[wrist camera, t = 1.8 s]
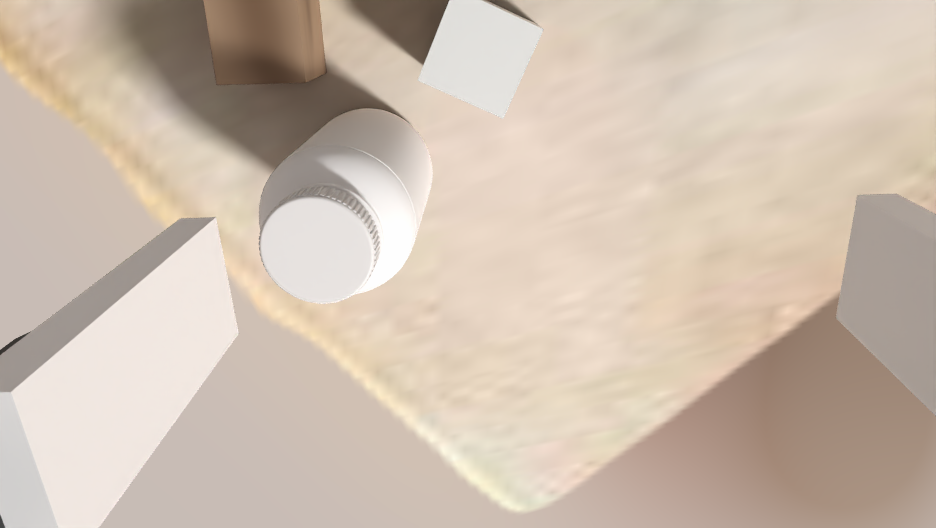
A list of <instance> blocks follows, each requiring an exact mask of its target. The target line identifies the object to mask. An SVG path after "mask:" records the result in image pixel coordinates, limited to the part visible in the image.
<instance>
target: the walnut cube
mask: <svg viewBox="0 0 936 528" xmlns="http://www.w3.org/2000/svg"><path fill="white" fill-rule="evenodd" d="M203 1H204V8H205V14H206V20H207V27H208V33H209V39H210V46H211V52H212V59H213V65H214V71H215V78H216V84H217V85H230V84H275V83H307V82H309V81H311V80H313V79H315V78H317V77H319V76H321V75H323V74H325V73H326V65H325V55H324V45H323V35H322V24H321V14H320V4H319V0H203Z"/></svg>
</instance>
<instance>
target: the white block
mask: <svg viewBox="0 0 936 528" xmlns="http://www.w3.org/2000/svg"><path fill="white" fill-rule="evenodd" d="M543 30H544V29H543V28H541V27H540V26H539V25H538V24H536V23H534V22H532V21H530V20H527V19H525V18H523V17H521V16H519V15H517V14H515V13H512V12H510V11H508V10H506V9H504V8H502V7H500V6H497V5H495V4H493V3H491V2H489V1H487V0H449V2H448V5H447V7H446V10H445V12H444V15H443V17H442V20H441V23H440V25H439V28H438V30H437V33H436V35H435V38H434V40H433V43H432V45H431V48H430V50H429V53H428V55H427V58H426V60H425V63H424V66H423V68H422V71H421V73H420V76H419V78H418V81H420V82H422V83H424V84H427V85H429V86H431V87H433V88H435V89H438V90H440V91H442V92H444V93H447V94H449V95H451V96H453V97H456V98H458V99H460V100H462V101H465V102H467V103H469V104H471V105H474V106H476V107H478V108H480V109H482V110H485V111H487V112H489V113H491V114H494V115H496V116H498V117H500V118H504V116H505V114H506V111H507V109H508V107H509V105H510V103H511V100H512V98H513V96H514V94H515V92H516V89H517V87H518V85H519V83H520V80H521V78H522V76H523V74H524V72H525V69H526V67H527V65H528V63H529V61H530V58H531V56H532V54H533V52H534V49H535V47H536V45H537V43H538V41H539V38H540V36H541V34H542V32H543Z"/></svg>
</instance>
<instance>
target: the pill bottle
mask: <svg viewBox="0 0 936 528" xmlns="http://www.w3.org/2000/svg"><path fill="white" fill-rule="evenodd" d="M431 185H432V162H431V157H430V154H429V151H428V148H427V146H426V144H425V142H424V140H423V139H422V137H421V136H420V134H419V133H418V132H417V131H416V130H415V128H414V127H413V126H411V125H410V124H409V123H408V122H407V121H405V120H404V119H402V118H401V117H399V116H397V115H395V114H393V113H390V112H387V111H384V110H380V109H371V108H364V109H356V110H352V111H349V112H346V113H343V114H341V115H339V116H337V117H335V118H333V119H332V120H331V121H329V122H328V123H327V124H326V125H324V126H323V127H322V128H321V129H320V130H319V131H317V132H316V133H315V134H314V135H313V136H312V137H310V138H309V139H308V140H307V141H306V142H305V143H303V144H302V145H301V146H300V147H299V148H298V149H296V150H295V151H294V152H293V153H292V154H291V155H289V156H288V157H287V158H286V159H285V160H284V161H283V162H282V163H280V165H279V166H278V167H277V168H276V169H275V170H274V171H273V173H272V174H271V176H270V177H269V179H268V180H267V182H266V184H265V187H264V189H263V192H262V195H261V200H260V206H259V224H260V236H259V240H260V241H259V245H260V247H259V251H260V256H261V260H262V262H263V265H264V267H265V269H266V271H267V272H268V274H269V276H270V277H271V278H272V280H273V281H274V282H275V283H276V284H277V285H278V286H279V287H280V288H282V289H283V290H284V291H286V292H287V293H289V294H290V295H292V296H294V297H296V298H298V299H301V300H304V301H307V302H311V303H319V304H320V303H323V304H326V303H333V302H334V303H335V302H337V301H342V300H343V299H344V300H345V299H347V298H348V297H351V296H352V295H355V294H359V293H363V292H366V291H369V290H372V289H374V288H376V287H378V286H380V285H382V284H383V283H385V282H386V281H388V280H389V279H390V278H392V277H393V276H394V275H395V274H396V273H397V272H398V271H399V270H400V269H401V268H402V266H403V265H404V263H405V262H406V260H407V259H408V257H409V255H410V253H411V250H412V248H413V245H414V242H415V239H416V236H417V232H418V229H419V226H420V222H421V219H422V216H423V212H424V209H425V206H426V203H427V199H428V196H429V193H430V189H431Z"/></svg>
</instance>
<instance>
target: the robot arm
mask: <svg viewBox="0 0 936 528" xmlns="http://www.w3.org/2000/svg"><path fill="white" fill-rule="evenodd" d="M836 319H837V320H839V321H840V322H841V323H842V324H843V325H844V326H845V327H846V328H847V329H848V330H849V331H850V332H851V333H852V334H853V335H854V336H855V337H856V338H857V339H858V340H859V341H860V342H861V343H862V344H863V345H864V346H865V347H866V348H867V349H868V350H869V351H870V352H871V353H872V354H873V355H874V356H875V357H876V358H877V359H878V360H879V361H880V362H881V363H882V364H883V365H884V366H885V367H886V368H887V369H888V370H890V372H891V373H892V374H894V376H896V377H897V378H898V379H899V380H900V381H901V382H902V383H903V384H904V385H905V386H906V387H907V388H908V389H909V390H910V391H911V392H912V393H913V394H914V395H915V396H916V397H917V398H918V399H919V400H920V401H921V402H922V403H923V404H924V405H925V406H926V407H927V408H928V409H929V410H930V411H931V412H932V413H933V414H934V415H935V416H936V214H934V213H932V212H930V211H929V210H927V209H925V208H923V207H921V206H919V205H917V204H915V203H913V202H911V201H910V200H908V199H906V198H904V197H902V196H900V195H898V194H873V195H857V200H856V206H855V212H854V217H853V223H852V229H851V235H850V240H849V246H848V252H847V257H846V263H845V269H844V275H843V280H842V286H841V292H840V298H839V303H838V309H837V315H836ZM238 334H239V333H238V328H237V324H236V318H235V312H234V308H233V302H232V297H231V292H230V287H229V282H228V277H227V271H226V266H225V261H224V256H223V251H222V246H221V241H220V236H219V231H218V226H217V220H216V217H210V218H181V219H179V220H178V221H176V222H175V223H174V224H172V225H171V226H170V227H168V228H167V229H166V230H164V231H163V232H162V233H161V234H159V235H158V236H157V237H155V238H154V239H153V240H151V241H150V242H149V243H147V244H146V245H145V246H143V247H142V248H141V249H139V250H138V251H137V252H135V253H134V254H133V255H132V256H130V257H129V258H128V259H126V260H125V261H124V262H122V263H121V264H120V265H118V266H117V267H116V268H115V269H113V270H112V271H110V272H109V273H108V274H106V275H105V276H104V277H103V278H102V279H100V280H99V281H97V282H96V283H95V284H93V285H92V286H91V287H89V288H88V289H87V290H85V291H84V292H83V293H82V294H80V295H79V296H78V297H76V298H75V299H74V300H72V301H71V302H70V303H68V304H67V305H66V306H64V307H63V308H62V309H60V310H59V311H58V312H56V313H55V314H54V315H52V316H51V317H50V318H49V319H47V320H46V321H45V322H43V323H42V324H41V325H39V326H38V327H37V328H35V329H34V330H33V331H31V332H29V333H27V334H25V335H22V336H20V337H18V338H16V339H14V340H13V341H12V342H10V343H9V344H8V345H6V346H5V347H4V348H2V349H1V350H0V528H99V527H100V525H101V524H102V522H103V521H104V520H105V518H106V517H107V515H108V514H109V513H110V511H111V510H112V509H113V507H114V506H115V504H116V503H117V502H118V500H119V499H120V497H121V496H122V495H123V493H124V492H125V490H126V489H127V488H128V486H129V485H130V483H131V482H132V481H133V479H134V478H135V477H136V475H137V474H138V472H139V471H140V470H141V468H142V467H143V465H144V464H145V463H146V461H147V460H148V459H149V457H150V456H151V454H152V453H153V452H154V450H155V449H156V448H157V446H158V445H159V443H160V442H161V441H162V439H163V438H164V436H165V435H166V434H167V432H168V431H169V430H170V428H171V427H172V425H173V424H174V423H175V421H176V420H177V418H178V417H179V416H180V414H181V413H182V411H183V410H184V409H185V407H186V406H187V404H188V403H189V402H190V400H191V399H192V398H193V396H194V395H195V393H196V392H197V391H198V389H199V388H200V386H201V385H202V384H203V382H204V381H205V380H206V378H207V377H208V375H209V374H210V373H211V371H212V370H213V369H214V367H215V366H216V364H217V363H218V362H219V360H220V359H221V357H222V356H223V354H224V353H225V352H226V350H227V349H228V348H229V346H230V345H231V344H232V342H233V341H234V339H235V338H236V337H237V335H238Z"/></svg>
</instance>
